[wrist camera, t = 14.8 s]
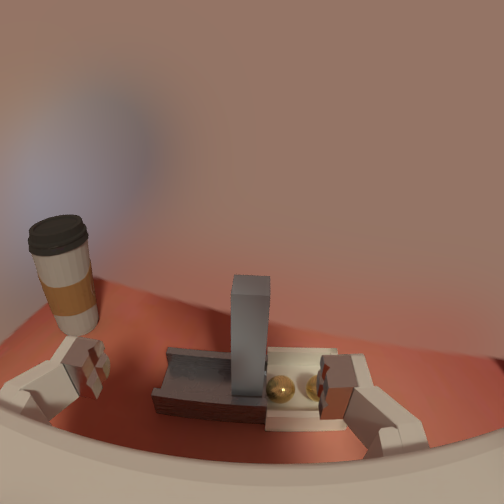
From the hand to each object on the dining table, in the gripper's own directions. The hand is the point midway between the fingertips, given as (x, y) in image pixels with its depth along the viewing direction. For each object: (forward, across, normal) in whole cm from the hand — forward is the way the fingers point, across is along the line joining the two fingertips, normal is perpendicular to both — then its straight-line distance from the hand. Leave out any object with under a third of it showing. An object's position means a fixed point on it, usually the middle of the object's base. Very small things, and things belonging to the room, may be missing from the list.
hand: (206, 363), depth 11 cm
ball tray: (+14, -6, +20) cm, 25 cm away
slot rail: (+14, +3, +19) cm, 24 cm away
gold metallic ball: (+14, -8, +19) cm, 25 cm away
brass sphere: (+14, -5, +18) cm, 24 cm away
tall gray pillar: (+14, -1, +18) cm, 23 cm away
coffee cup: (+23, +24, +19) cm, 38 cm away
